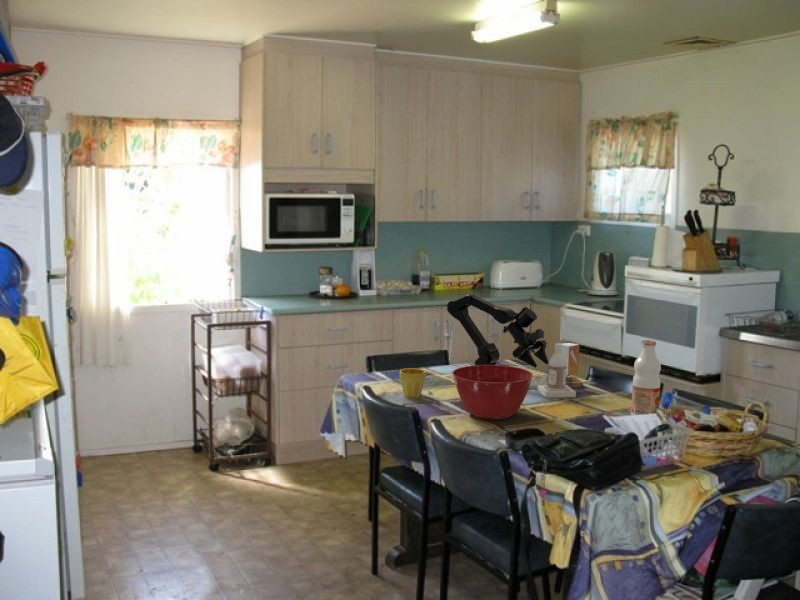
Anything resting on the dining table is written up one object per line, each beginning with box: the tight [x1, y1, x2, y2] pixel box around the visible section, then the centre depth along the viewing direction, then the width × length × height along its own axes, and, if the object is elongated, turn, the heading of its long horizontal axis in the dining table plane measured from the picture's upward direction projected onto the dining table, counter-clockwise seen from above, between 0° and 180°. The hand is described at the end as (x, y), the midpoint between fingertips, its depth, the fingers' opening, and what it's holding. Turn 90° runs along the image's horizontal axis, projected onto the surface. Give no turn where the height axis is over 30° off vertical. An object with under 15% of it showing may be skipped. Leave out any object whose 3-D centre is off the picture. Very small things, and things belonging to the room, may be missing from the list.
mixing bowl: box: [452, 364, 534, 421], centre depth 296 cm, size 28×28×16 cm
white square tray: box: [537, 384, 577, 398], centre depth 331 cm, size 12×12×2 cm
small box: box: [561, 342, 580, 376], centre depth 369 cm, size 8×6×13 cm
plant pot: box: [399, 367, 427, 399], centre depth 323 cm, size 10×10×10 cm
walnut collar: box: [546, 375, 584, 389], centre depth 347 cm, size 12×12×2 cm
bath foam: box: [547, 342, 567, 391], centre depth 330 cm, size 7×7×20 cm
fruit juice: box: [630, 339, 662, 416], centre depth 294 cm, size 9×9×28 cm
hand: (542, 365), depth 334 cm, fingers open, 9 cm apart
